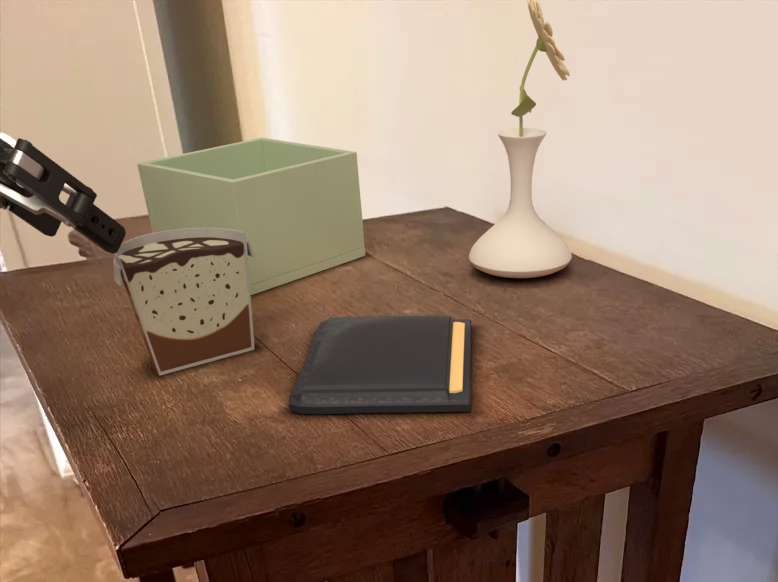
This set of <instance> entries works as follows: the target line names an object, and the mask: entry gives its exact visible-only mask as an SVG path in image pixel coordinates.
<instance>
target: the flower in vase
mask: <svg viewBox="0 0 778 582" xmlns="http://www.w3.org/2000/svg"><path fill="white" fill-rule="evenodd" d="M527 7H528V13H529V16H530V19H531V22H532V26H533V27H534V30H535V32H536V34H537V38H536V42H535V47H534V48H533V51H532V53H531V56H530V57H529V60H528V63H527V64H526V67H525V70H524V72H523V76H522V79H521V83H520V86H519V101H518V102H519V103H518V105H517V106H516V107H515V108H514V109H513V110H512V111H511V113H510V114H511V115H513V116H515V117H517V118H518V119H519V120H518V121H519V122H518V123H519V125H518V126H519V127H518V128H517V127H515V128H508V129H502V130H498V132H497V136H498V138H499V139H500V141H501V142H502V144H503V147H504V149H505V153H506V156H507V160H508V161H507V162H508V165H509V176H510V197H509V204H508V207H507V209H506V212H505V213H504V214H503V215H502V217H501V218H500V219H498V221H497V222H496V223H494V224H493V225H492V226H491V227H490V228H489V229H487V231H485V232H484V233H483V234H482V235H481V236H480V237H479V238H478V239H476V240H477V241H475V243H474V244H473V245H472V246H471V249H470V251H469V254H468V260H469V262H470V263H471V265H472V266H473V267H474V268H475V269H477V270H479V271H481V272H483V273H485V274H488V275H490V276H495V277H499V278H500V277H501V278H506V279H507V278H508V279H530V278H531V279H532V278H540V277H545V276H548V275H552V274H554V273H557V272H559V271H561V270H563V269H565V268H566V267H567V266H568V265H569V264H570V262H571V260H572V258H573V255H572V252H571V249H570V246H569V245H568V244H567V243H566V241H565V240H564V238H563V237H562V236H561V235H559V234H558V232H556V231H555V230H554V229H553V228H552V227H550V226H549V224H547V223H546V222H545V221H544V220H543V219H541V217H540V216H539V215H538V213H537V212H536V210H535V208H534V204H533V195H532V191H533V190H532V189H533V188H532V187H533V172H534V165H535V161H536V156H537V153H538V150H539V147H540V145H541V143H542V142H543V140H544V138H545V137H546V135H547V131H546V130H543V129H539V128H532V127H531V128H530V127H524V124H523V123H524V121H523V118H524V117H523V116H526V115H527V114H528V113H532V110H533V109H534V108H536V106H537V103H536V101H534V100H533V99H532V98H531V97H530V96H529V95H528V94H527V91H526V89H525V84H526V80H527V77H528V74H529V72H530V69H531V66H532V65H533V62H534V60H535V57H536V56H537V53H538V51H539V52H543V53H545V55H546V56H547V58H548V60H549V62H550V64H551V65H552V67H553V69H554V71H555V72H556V74H557V75H558V76H559V78H560V79H561V80H562V81H568V77H571V74H570V71H569V70H568V69H567V66H566V65H565V63H564V62H565V56H564V53H563V52H562V51H561V49H560V48H559V46H557V45H556V42H555V40H554V38H553V36H554V35H553V33H554V32H553V28H552V26H551V23H550V22H549V21H546V22H545V20H544V16H543V12H542V11H543V10H542V8H541V5H540V2H539V1H538V0H527ZM567 76H568V77H567Z"/></svg>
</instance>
